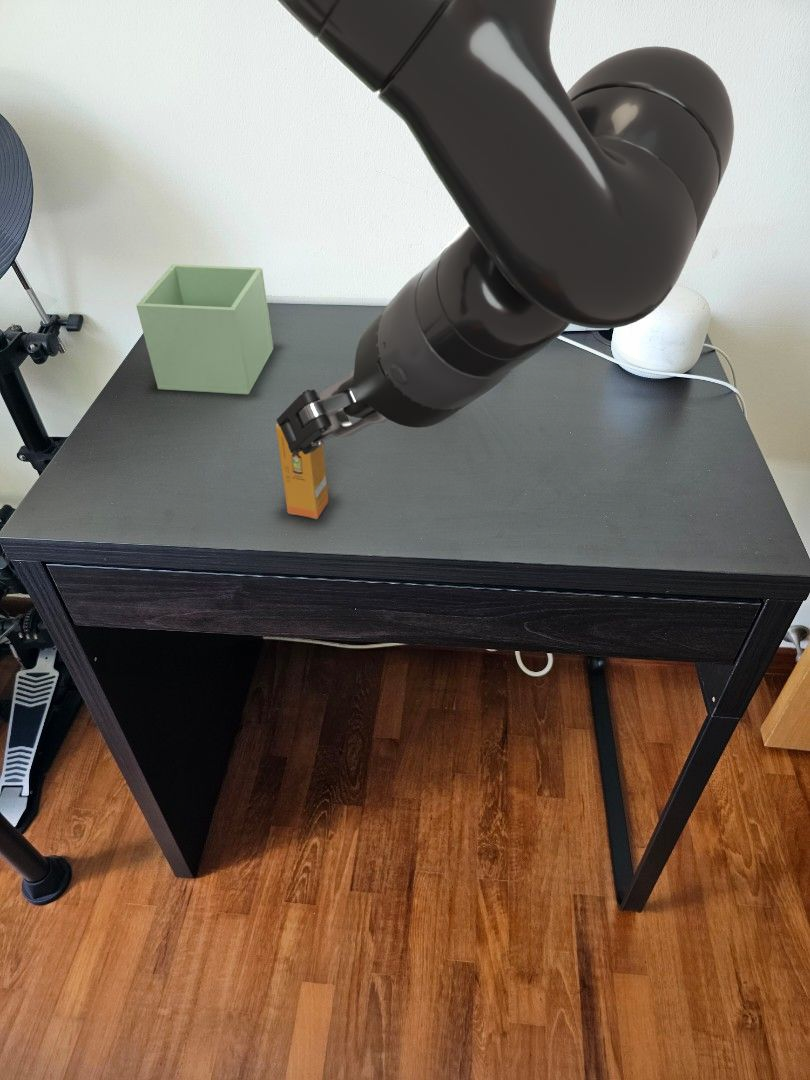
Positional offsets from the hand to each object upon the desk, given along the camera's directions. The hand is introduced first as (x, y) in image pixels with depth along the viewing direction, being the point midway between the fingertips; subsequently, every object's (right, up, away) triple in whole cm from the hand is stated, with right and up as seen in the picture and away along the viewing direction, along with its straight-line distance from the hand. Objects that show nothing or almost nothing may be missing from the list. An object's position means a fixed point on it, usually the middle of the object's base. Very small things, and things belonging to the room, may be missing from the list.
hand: (350, 422), depth 61 cm
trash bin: (-19, +12, +37) cm, 43 cm away
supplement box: (-5, -6, +16) cm, 18 cm away
